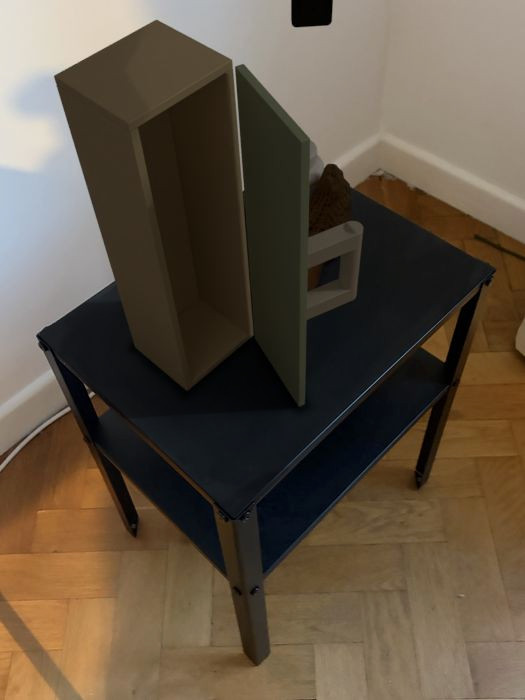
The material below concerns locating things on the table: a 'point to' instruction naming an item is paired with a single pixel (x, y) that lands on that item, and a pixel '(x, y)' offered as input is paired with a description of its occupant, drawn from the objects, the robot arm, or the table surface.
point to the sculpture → (326, 211)
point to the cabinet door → (286, 233)
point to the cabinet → (166, 192)
